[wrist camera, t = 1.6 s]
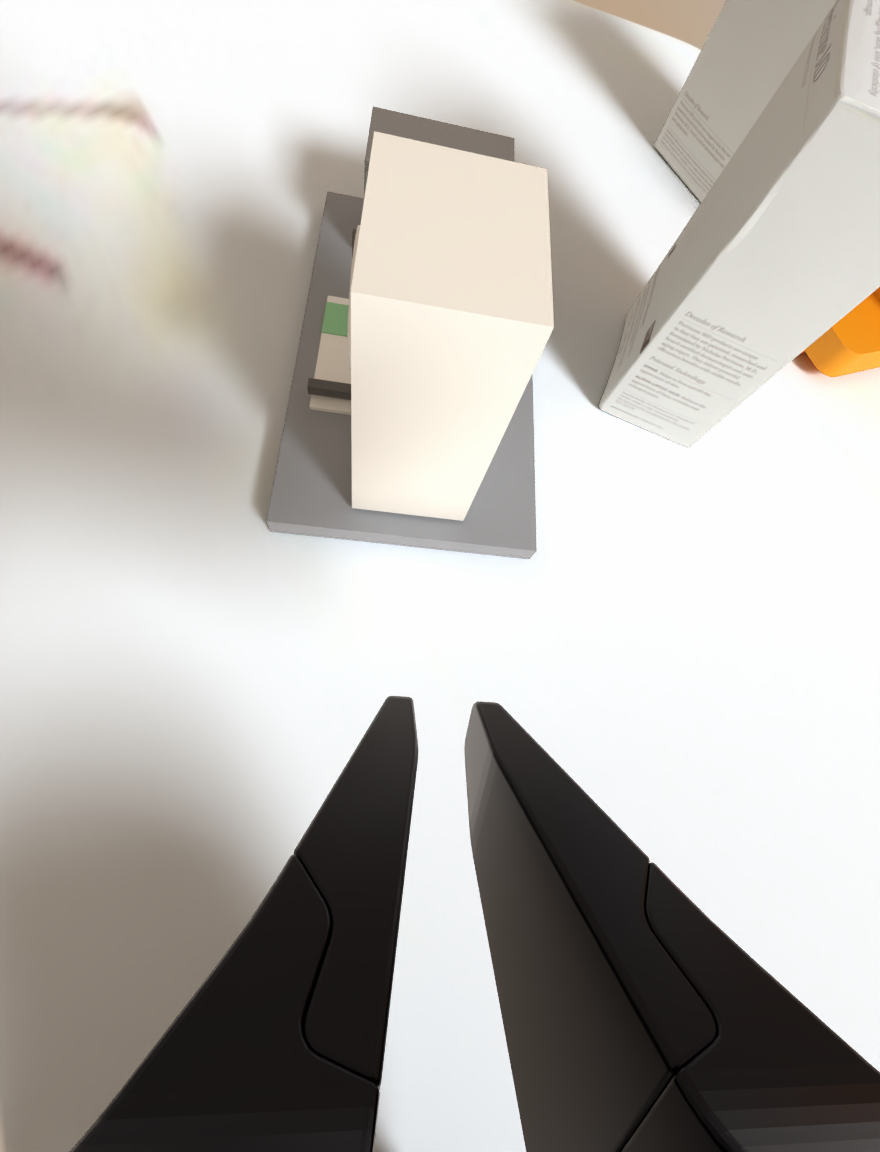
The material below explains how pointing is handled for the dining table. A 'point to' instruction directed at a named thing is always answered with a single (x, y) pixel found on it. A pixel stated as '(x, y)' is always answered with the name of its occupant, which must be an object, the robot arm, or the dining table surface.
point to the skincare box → (765, 244)
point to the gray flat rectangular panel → (324, 448)
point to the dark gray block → (437, 135)
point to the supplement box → (734, 83)
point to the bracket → (850, 341)
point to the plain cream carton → (441, 321)
